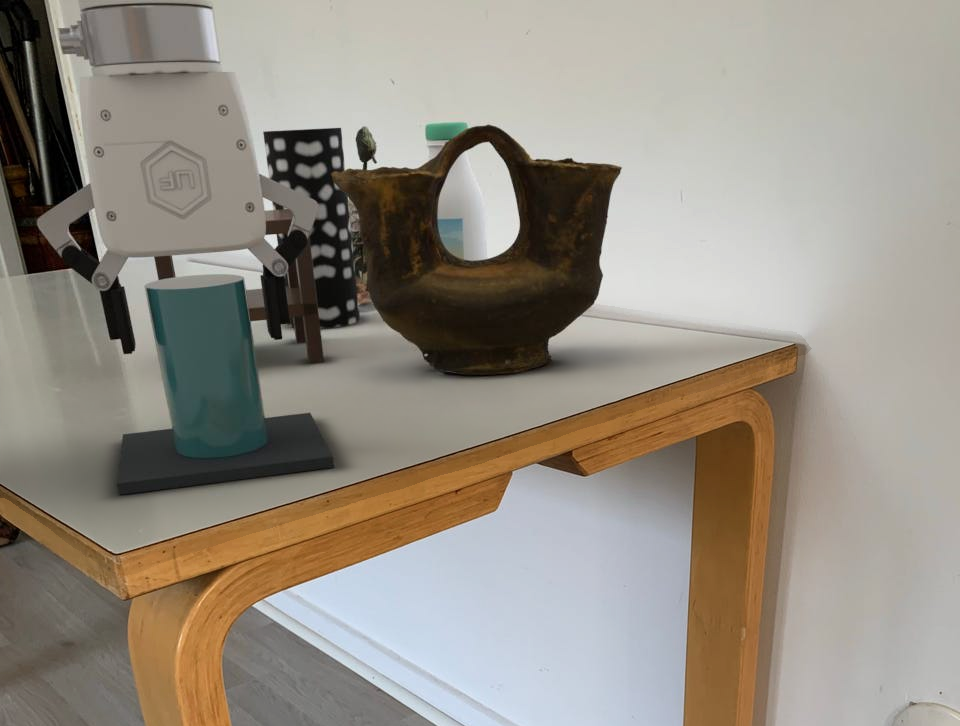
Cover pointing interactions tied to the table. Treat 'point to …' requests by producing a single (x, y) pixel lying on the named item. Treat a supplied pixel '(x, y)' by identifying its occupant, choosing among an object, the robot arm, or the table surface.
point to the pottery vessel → (490, 282)
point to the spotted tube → (320, 215)
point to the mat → (162, 467)
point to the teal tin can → (208, 364)
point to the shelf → (297, 292)
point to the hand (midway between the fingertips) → (203, 343)
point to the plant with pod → (365, 153)
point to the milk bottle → (458, 199)
